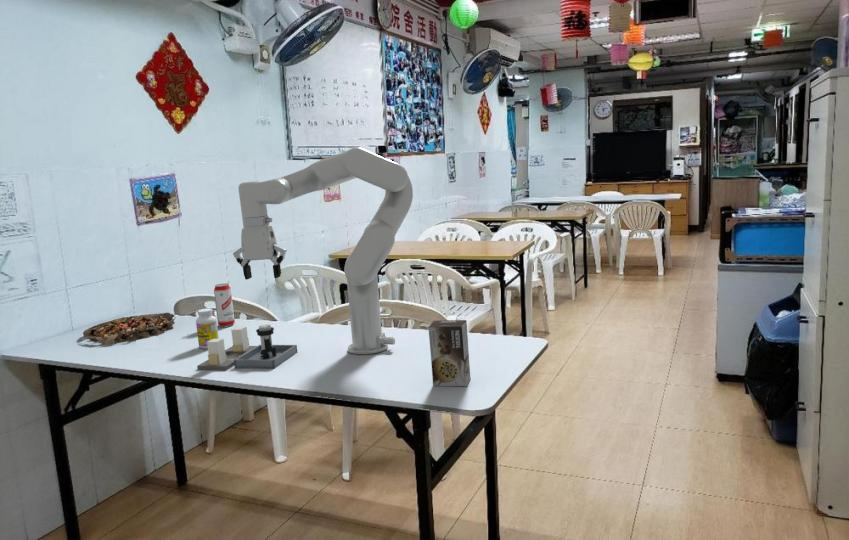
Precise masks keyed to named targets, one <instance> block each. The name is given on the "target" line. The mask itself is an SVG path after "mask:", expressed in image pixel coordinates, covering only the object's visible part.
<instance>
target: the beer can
mask: <svg viewBox="0 0 849 540" xmlns="http://www.w3.org/2000/svg"><path fill="white" fill-rule="evenodd" d="M213 294H214V301H215V302H214V303H215V312H216V321H217V326H219V327H220V328H228V327H232V326H233V325H234V324H235V323H236V322H235V321H236V320H235V313H234V305H233V297H232V289H231V287H230V285H229V283H219V284H214V289H213Z"/></svg>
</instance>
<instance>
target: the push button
mask: <svg viewBox="0 0 849 540" xmlns="http://www.w3.org/2000/svg"><path fill="white" fill-rule="evenodd" d="M274 330H275V328H274V327H272V326H271V324H262V325H259V326H258V328H257V329H255V332H256V334H257V336H258V337H259V338H260V345H261V347H262V348H261V350H260V355H258V357H259V356H260V358H258V359H268V358H271V357H273V356H276V348H274V347H273V345H274V344H273V340H272V339H273V338H272V335H273V334H274V333H275V332H274Z"/></svg>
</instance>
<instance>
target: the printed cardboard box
mask: <svg viewBox="0 0 849 540" xmlns="http://www.w3.org/2000/svg"><path fill="white" fill-rule="evenodd" d="M427 329H428V330H427V331H428V339H429V350H430V351H429V352H430V360H431V361H430V362H431V376H432V386H433V387H467V386H468V385H469V382H470V381H471V367H470V356H469V355H470V353H469V351H470V350H469V338H468V325H467V319H452V320H451V319H449V320H446V319H445V320H443V319H442V320H439V319H438V320H433V321H432V322H431V324H430V325H429V326H428V327H427Z"/></svg>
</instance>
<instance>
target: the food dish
mask: <svg viewBox="0 0 849 540" xmlns="http://www.w3.org/2000/svg"><path fill="white" fill-rule="evenodd" d="M175 320H176V316H175V314H173V313H170V312H161V313H149V314H146V313H145V314H141V315H130V316H123V317H120V318H116V319H115V318H114V319H111V320H109V321H108V320H107V321H104V322H102V323H99V324H96V325H93V326H91V327H88V328H87V329H85V330H84V331H83V332H82V335H83V337H84V338H85V337H86V338H89V339H90V342H99V343H100V344H102V345H105V346H107V345H113V344H121V343H125V342H135V341H140V340H145V339H149V338H152V337H156V336H160V335H162V334H164V333H165V332H168V331H171V330H173V329H174V326H173V325H174V324H175Z"/></svg>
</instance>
